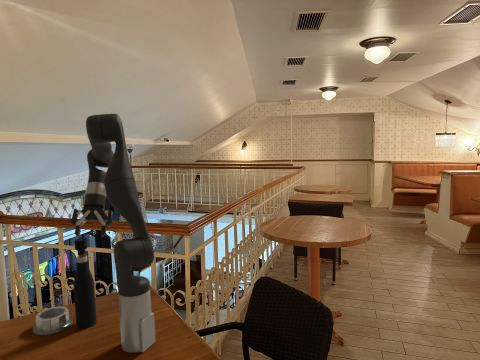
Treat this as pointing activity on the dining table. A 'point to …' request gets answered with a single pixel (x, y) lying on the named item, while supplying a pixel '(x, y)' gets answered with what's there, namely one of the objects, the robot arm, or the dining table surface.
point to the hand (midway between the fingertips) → (89, 236)
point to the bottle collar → (52, 321)
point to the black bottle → (84, 288)
